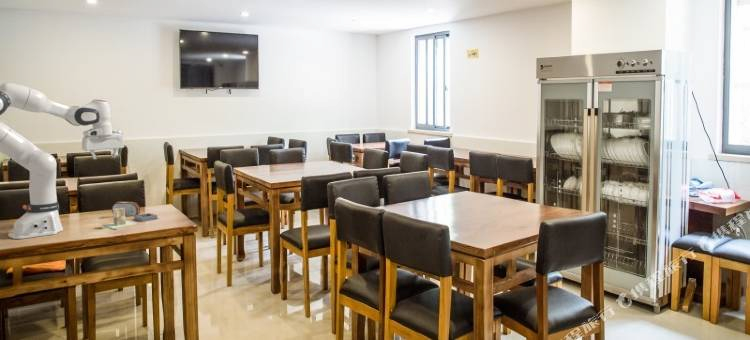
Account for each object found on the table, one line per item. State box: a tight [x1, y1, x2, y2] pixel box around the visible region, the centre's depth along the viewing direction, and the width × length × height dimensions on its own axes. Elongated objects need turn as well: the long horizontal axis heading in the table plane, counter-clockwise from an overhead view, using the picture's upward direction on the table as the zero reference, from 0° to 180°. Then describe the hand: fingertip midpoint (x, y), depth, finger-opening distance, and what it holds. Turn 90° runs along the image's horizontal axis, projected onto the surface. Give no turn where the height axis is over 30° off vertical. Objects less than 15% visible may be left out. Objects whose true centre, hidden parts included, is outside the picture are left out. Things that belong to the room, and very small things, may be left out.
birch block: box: [112, 208, 127, 226], centre depth 276 cm, size 4×4×8 cm
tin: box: [111, 201, 141, 217], centre depth 297 cm, size 15×3×8 cm, turn 84°
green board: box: [102, 220, 137, 231], centre depth 276 cm, size 12×12×1 cm
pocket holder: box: [131, 212, 160, 223], centre depth 288 cm, size 10×10×3 cm
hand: (104, 158), depth 285 cm, fingers open, 8 cm apart
